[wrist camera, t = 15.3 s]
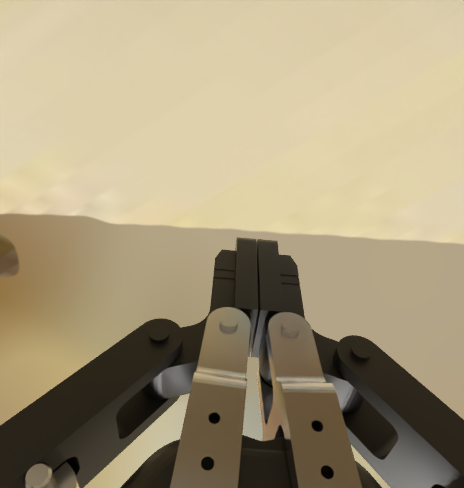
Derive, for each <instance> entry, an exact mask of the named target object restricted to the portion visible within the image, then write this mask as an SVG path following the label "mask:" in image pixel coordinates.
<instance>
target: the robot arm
mask: <svg viewBox="0 0 464 488" xmlns="http://www.w3.org/2000/svg"><path fill="white" fill-rule="evenodd" d="M299 284H300V283H299V278H298V269H297V265H296V263H295V262H294V261H293V259H292V258H291V256H288V255H279V253H278V243H277V241H272V240H261V239H258V240H257V242H256V239H249V238H237V240H236V248H235V251H230V250H221V252H220V253H219V254H218V255H217V257H216V258H215V267H214V277H213V287H212V297H211V307H210V312H209V314H208V316H207V317H206V318H205V319H204V320H203V321H201V322H200V323H198V324H195V325H192V326H187V327H182V328H180V327H179V326H178V325H177V324H176V323H175V322H173V321H171V320H168V319H154V320H150V321H148V322H146V323H144V324H143V325H142V326H140V327H139V328H137V329H136V330H134V331H133V332H132V333H130V334H129V335H127V336H126V337H125V338H123V339H122V340H120V341H119V342H118V343H116V344H115V345H113V346H112V347H111V348H109V349H108V350H106V351H105V352H103V353H102V354H101V355H99V356H98V357H96V358H95V359H94V360H92V361H91V362H89V363H88V364H87V365H85V366H84V367H82V368H81V369H79V370H78V371H77V372H75V373H74V374H73V375H71V376H70V377H68V378H67V379H66V380H64V381H63V382H61V383H60V384H59V385H57V386H56V387H54V388H53V389H51V390H50V391H48V392H47V393H46V394H45V395H43V396H41V397H40V398H39V399H37V400H36V401H35V402H33V403H32V404H30V405H29V406H27V407H26V408H25V409H23V410H22V411H20V412H19V413H18V414H16V415H15V416H13V417H12V418H10V419H9V420H8V421H6V422H5V423H4V424H2V425H1V426H0V488H83V487H84V486H85V485H86V484H88V483H89V482H90V480H92V479H93V478H94V477H95V476H96V475H97V474H98V473H99V472H100V471H102V470H103V469H104V468H105V467H106V466H107V465H108V464H109V463H110V462H111V461H112V460H113V459H114V458H116V457H117V456H118V455H119V454H120V453H121V452H122V451H123V450H124V449H125V448H126V447H127V446H128V445H130V444H131V443H132V442H133V441H134V440H135V439H136V438H137V437H138V436H139V435H140V434H141V433H142V432H144V431H145V430H146V429H147V428H148V427H149V426H150V425H151V424H152V423H153V422H154V421H155V420H156V419H158V418H159V416H161V415H162V414H163V413H164V412H165V411H166V410H167V409H168V408H169V407H170V406H172V405H173V404H174V403H175V402H176V401H177V399H178V398H179V397H180V395H184V394H188V393H190V395H189V399H188V404H187V409H186V414H185V418H184V423H183V428H182V433H181V437H180V439H179V440H176V441H173V442H171V443H169V444H167V445H165V446H164V447H162V448H160V449H159V450H157V451H156V452H155V453H154V454H153V455H151V456H150V457H149V458H148V459H147V460H146V461H145V462H144V463H143V464H142V465H141V466H140V467H139V469H138V470H137V471H136V472H135V473H134V474H133V475H132V476H131V477H130V478H129V479H128V480H127V481H126V482H125V483H124V484H123V485H122V487H121V488H382V487H381V486H380V485H379V484H378V483H377V482H376V480H375V479H374V478H373V477H372V476H371V474H370V473H368V471H366V469H365V468H364V467H362V466H361V465H360V464H359V463H358V462H356V461H355V459H354V455H353V452H352V448H351V445H352V446H353V447H354V448H355V449H356V450H357V451H358V452H359V453H360V455H361V456H362V457H363V458H364V459H365V460H366V461H367V462H368V463H369V464H370V466H371V467H372V468H373V469H374V470H375V471H376V472H377V473H378V474H379V475H380V476H381V477H382V479H383V480H384V481H385V482H386V483H387V484H388V485H389V486H390V487H391V488H464V420H463V419H462V418H460V416H458V415H457V414H456V413H455V412H454V411H452V410H451V409H450V408H449V407H448V406H447V405H446V404H444V403H443V402H442V401H441V400H440V399H439V398H437V397H436V396H435V395H434V394H433V393H431V392H430V391H429V390H428V389H427V388H426V387H425V386H423V385H422V384H421V383H420V382H418V381H417V380H416V379H415V378H414V377H412V375H411V374H409V373H408V372H407V371H406V370H405V369H403V368H402V367H401V366H400V365H399V364H398V363H396V362H395V361H394V360H393V359H392V358H391V357H389V356H388V355H387V354H386V353H385V352H383V351H382V350H381V349H380V348H379V347H378V346H377V345H375V344H374V343H373V342H372V341H370V340H368V339H366V338H364V337H361V336H353V335H352V336H347V337H344V338H343V339H341V340H340V341H339V342H337V341H335V340H332V339H329V338H326V337H324V336H321V335H319V334H318V333H316V332H315V331H314V330H313V329H311V326H310V324H309V323H308V322H307V321H306V320H305V317H304V310H303V303H302V297H301V290H300V286H299ZM250 352H251V357H258V358H259V370H258V375H257V383H258V392H259V402H260V411H261V421H262V433H263V434H262V435H263V436H262V437H263V438H262V441H258V440H255V439H252V438H250V437H247V436H244V435H242V433H243V421H244V410H245V397H246V387H247V379H246V372H247V361H248V357H249V356H250Z"/></svg>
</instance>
